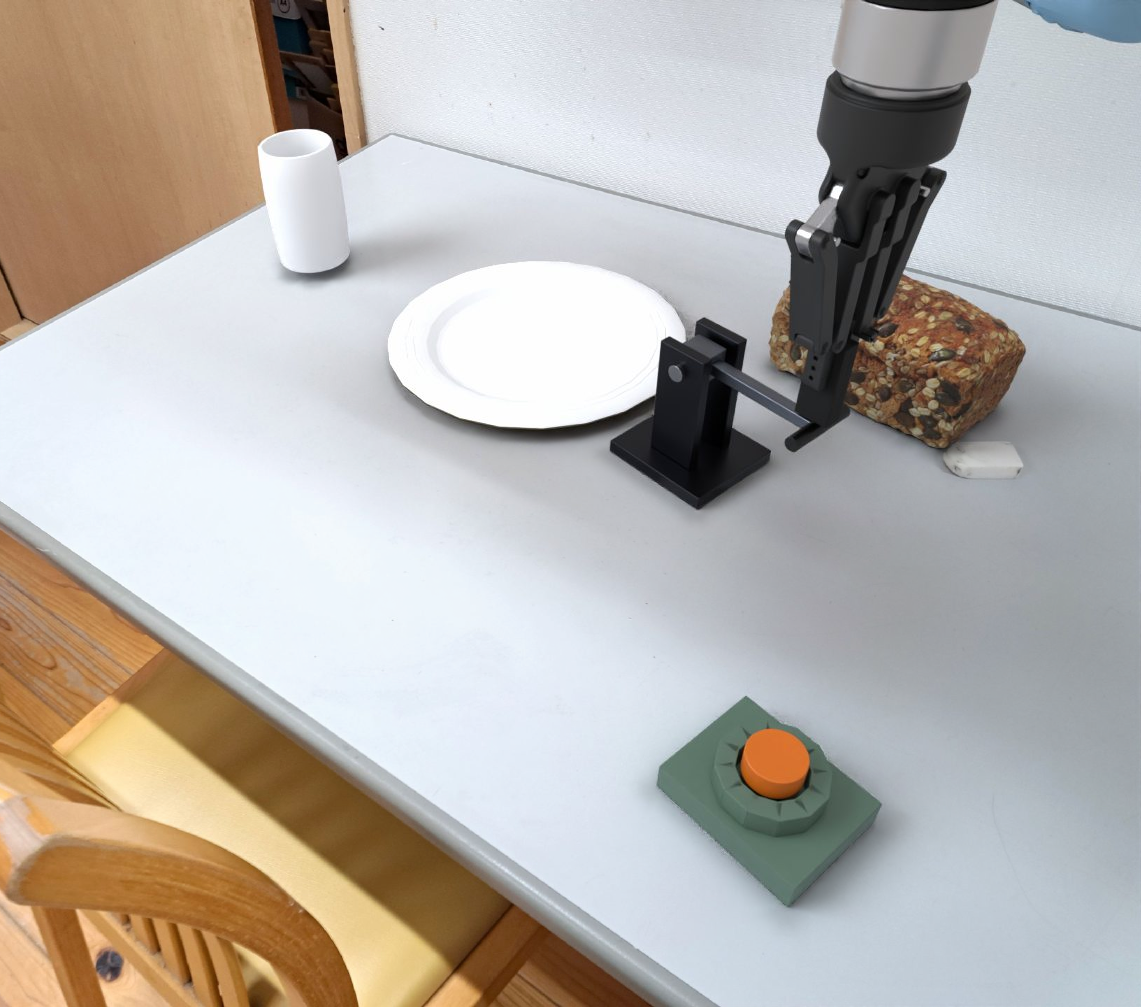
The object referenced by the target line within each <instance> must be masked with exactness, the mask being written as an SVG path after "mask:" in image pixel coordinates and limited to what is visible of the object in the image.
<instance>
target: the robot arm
mask: <svg viewBox="0 0 1141 1007" xmlns="http://www.w3.org/2000/svg"><path fill="white" fill-rule="evenodd" d="M999 2H1000V0H841V2H840V9H841V12H840V16H839V20H838V26H837V30H836V36H835V40H834V44H833V50H832V54H831V63H832V67H833V68H834V69H835V70H834V71H833V72H832V73H831V74H830V75H828V77H827V78H826V82H825V85H824V91H823V97H822V102H821V106H820V112H819V117H818V121H817V128H816V138H817V141H818V143H819V145H820V146H821V147H822V149H823V150H824V152H825V153H826V155H827V158H828V160H829V166H828V169H827V171H826V174H825V176H824V178H823V181H822V182H821V184H820V187H819V190H818V195H817V196H818V197H817V200H818V203H819V205H818V207H816V209H815V210H814V211H813V213H811V215H810V216H809V217H808V219H807V220H806V222H804V221H802V220H799V219H796V218H794V219H792V220H791V221H789V223H788V224H787V225H786V228H785V230H784V239H785V241H786V245H787V247H788V250H789V252H790V272H789V273H790V274H789V281H790V284H789V285H790V309H789V340H790V341H792V342H794V343H796V344H798V345H800V346H802V347H804V348H806V349H808V352H807V356H806V361H805V366H804V371H803V374H802V379H800V384H799V389H798V393H797V398H796V402H795V403H796V406H795V412H797V413H799V414H800V415H802V416H804V417H806V418H808V419H809V420H811V421H813V422H815V423H817V424H818V425H820V426H822V427H824V428H828V427H829V426H830V425H832V424H833V423H835V422H836V421H838V420H839V418H840V414H841V410H842V406H843V403H844V399H845V395H846V391H847V388H848V384H849V380H850V376H851V373H852V369H853V365H854V361H855V358H856V354H857V350H858V346H859V339H860V338H861V339H863V340H865V341H867V342H869V343H872V342H874V341H875V340H876V338H877V337H878V335H879V333H880V331H879V330H877V329H874V328H872V327H870V326H871V322H872V319H873V318H876V319H878V320H880V319H882V318H883V317H884V316H885V315H886V313H887V311H888V309H889V306H890V304H891V301H892V299H893V296H894V294H895V291H896V289H897V287H898V284H899V282H900V279H901V277H902V274H904V272H905V269H906V267H907V264H908V262H909V260H910V258H911V254H912V252H913V250H914V247H915V245H916V242H917V240H918V237H919V235H920V232H921V230H922V227H923V225H924V223H925V221H926V218H927V215H928V213H929V210H930V208H931V206H932V205H933V203H934V201H935V200H936V198H937V196H938V194H939V192H940V191H941V189H942V187H943V186H944V184H945V182H946V179H947V177H948V172H947V170H944V169H942V168H939V167H935V166H932V165H933V164H936V163H938V162H940V161H942V160H943V159H945V158H946V157H948V156H949V155H950V154H951V153H952V151H953V150H954V148H956V145H957V142H958V139H959V136H960V132H961V129H962V124H963V122H964V118H965V114H966V112H967V108H968V105H969V103H970V102H969V101H970V98H971V95H972V87H971V86H970V84H969V81H970V80H972V79H974V78H975V77H976V75H977V74H978V73H979V72H980V68H981V65H982V61H983V57H984V55H985V54H984V53H985V50H986V47H987V43H988V40H989V37H990V33H991V29H992V25H993V23H994V19H995V15H996V11H997V9H998V5H999ZM1012 2H1015V3H1016V4H1019V5H1021V6H1022V7H1025V8H1026V9H1028V10H1030V11H1031V12H1032V14H1034V15H1037V16H1040V18H1041V19H1042V20H1043V21H1045V22H1047V23H1048V24H1057V25H1058V26H1059V27H1060V28H1061V29H1063V30H1065V31H1069V32H1074V33H1079V34H1087V35H1090V36H1092V37H1095V38H1098V39H1102V40H1105V41H1108V42H1111V43H1112V42H1113V43H1119V44H1120V43H1121V44H1141V0H1012Z"/></svg>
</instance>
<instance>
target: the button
mask: <svg viewBox="0 0 1141 1007" xmlns="http://www.w3.org/2000/svg"><path fill="white" fill-rule="evenodd" d="M809 766H810V758H809V754H808V752H807V750H806V748H805V746H804V745H803V743H802V742H801V741H800V740H799V739H797V738H796V737H795V736H793V735H792V734H790V733H788V732H785V731H782V730H778V729H764V730H760V731H758V732H756V733H754V734H753V735H752V736H751V737H750V738H749V739H748V740H747V742H746V744H745V748H744V752H743V756H742V760H741V773H742V776H743V778H744V780H745V781H746V783H747V784H748V785H749V786H750V787H751V788H752V789H753V790H754V791H755V792H757V793H758V794H760V795H762V796H765V797H768V798H772V799H784V798H788V797H791V796H793V795H795V794H796V793H797V792H799V790H800V789H801V788H802V786H803V784H804V781H805V778H806V775H807V772H808V769H809Z"/></svg>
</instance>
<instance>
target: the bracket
mask: <svg viewBox="0 0 1141 1007" xmlns="http://www.w3.org/2000/svg"><path fill="white" fill-rule="evenodd" d="M698 334H701V335H703V336H704V337H706V338H708V339H710V340H711V341H713V342H715V343H717V344H719V345H720V346H722V347H724V348H726V354H725V359H724V362H726V363H728V364H729V365H731V366H733V367H735V368H736V369H738V370H740V371H741V372H743V367H744V362H745V355H746V349H747V343H748V338H746V337H744V336H742V335H740V334H739V333H736V332H734V331H733V330H730V329H728V328H727V327H725V326H723V325H720V324H719V323H717V322H715V321H713V320H711V319H709V318H707V317H705V316H703V317H701V318H700V319H698V320H696V321H695V327H694V335H693V337H694V336H696V335H698ZM711 365H712V359H711V358H709V357H707V356H705V355H703V354H701V353H700V352H698V351H696V350H694V349H692V348H690V347H689V346H687V345H685V344H683V343H681V342H679V341H678V340H676V339H674V338H672V337H670V336H668V337H667V338H665V339H663V340H661V344H660V355H659V365H658V376H657V386H656V395H655V396H654V397H655V398H654V407H653V408H654V409H653V415H651V416H649V417H647V418H645V419H644V420H642V421H641V422H638V423H637V424H636V425H634V426H632V427H631V428H629V429H627V430H626V431H624V432H622V433H620V434H619V435H617V436H615V437H613V438H612V439H610V440H609V451H610V452H611V453H612V454H614V455H616V456H617V457H618V458H619V459H621V460H623V461H624V462H626V463H627V464H629V466H632V467H633V468H634V469H636V470H637V471H639V472H640V473H642V474H643V475H645V476H646V477H648V478H649V479H651V480H652V481H654V482H655V483H657V484H658V485H660V486H661V487H663V489H664V488H665V489H666V490H667V491H669V492H670V493H671V494H673V495H675V496H676V497H677V498H679V499H681V500H682V501H684V502H685V503H686V504H688V505H689V506H690V507H692V508H694V509H695V510H699V509H700V508H702V507H704V506H705V505H706V504H708V503H709V502H711V501H713V500H714V499H716V498H717V497H718V496H720V495H722V494H723V493H724V492H726V491H727V490H728V489H730V488H732V487H733V486H735V485H736V484H738V483H739V482H741V481H742V480H743V479H745V478H747V477H749V476H750V475H751V474H753V473H754V472H756V471H757V470H759V469H760V468H762V467H763V466H764V465H766V464H768V463H769V462H770V460H771V456H772V450H771V449H770V448H768V447H766V446H765V445H763V444H761V443H759V442H758V441H756V440H754V439H753V438H751V437H750V436H747V435H746V434H744V433H742V432H741V431H739V430H737V429H736V428H734V427H733V426H734V420H735V415H736V414H735V413H736V408H737V401H738V396H739V392H738V391H737V390H735V389H733V388H732V387H730V386H728V385H726V384H725V383H723V382H721V381H720V380H718V379H716V378H714V379H712V380H710V381H709V379H710V372H711Z"/></svg>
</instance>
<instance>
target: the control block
mask: <svg viewBox="0 0 1141 1007" xmlns="http://www.w3.org/2000/svg"><path fill="white" fill-rule="evenodd" d="M764 729H778V730H782V731H785V732H788V733H790V734H792V735H793V736H795V737H796V738H797V739H799V740H800V741H801V742H802V743H803V745H804V746H805V748H806V750H807V752H808V754H809V758H810V766H809V769H808V772H807V775H806V778H805V781H804V784H803V786H802V788H801V789H800V790H799V792H797V793H796V794H795V795H793V796H791V797H788V798H784V799H772V798H768V797H765V796H762V795H760V794H758V793H757V792H755V791H754V790H753V789H752V788H751V787H750V786H749V785H748V784H747V783H746V781H745V780H744V778H743V776H742V773H741V760H742V756H743V752H744V748H745V744H746V742H747V740H748V739H749V738H750V737H751V736H752V735H753V734H754V733H756V732H758V731H760V730H764ZM656 786H657V787H658V788H659V789H660V790H661V791H662V792H663V793H664V794H665V795H666V796H668V797H669V798H670V799H671V800H672V801H673V802H674V803H675V804H676V805H677V806H678V807H679V808H681V810H682V811H683V812H685V813H686V815H688V816H689V817H690V818H691V819H692V820H693V821H694V822H695V823H697V824H698V825H699V827H701V829H703V830H704V831H705V832H706V833H707V834H708V835H709V836H710V837H711V838H713V839H714V841H715V842H717V843H718V844H719V845H720V846H721V847H722V848H723V849H724V850H725V851H727V853H728V854H730V855H731V856H732V857H733V858H734V859H735V860H736V861H737V862H738V863H740V865H741V866H743V868H745V869H746V871H748V872H749V873H750V874H751V875H752V876H753V877H754V878H755V879H757V880H758V882H760V884H761V885H763V886H764V887H765V888H766V889H767V890H769V891H770V893H771V894H773V895H774V897H776V898H777V899H778V900H779V901H780V902H781V903H782V904H783V905H784V906H786V907H787V908H789V907H790V906H791V905H792V904H793V903H794V902H795V901H796V900H798V898H799V897H800V896H801V895H802V894H804V892H805V891H807V889H808V888H809V887H810V886H812V884H813V883H814V882H815V881H816V880H818V879H819V877H821V875H822V874H823V873H824V872H826V870H827V869H828V868H829V867H830V866H831V865H832V864H834V863H835V862H836V860H838V859H839V858H840V857H841V855H843V854H844V853H845V852H846V851H847V850H848V849H849V848H850V847H851V846H852V845H853V844H854V843H855V842H856V841H857V840H858V839H859V838H860V837H861V836H862V835H863V834H864V833H865V832H866V831H867V830H868V829H869V828H870V827H871V826H872V825H873V824H875V821H876V819H877V816H878V814H879V812H880V810H881V808H882V805H883V803H882V802H881V801H880V800H879V799H877V797H875V796H873V795H872V794H871V793H870V792H869V791H867V790H866V789H864V788H863V787H862V786H861V785H860V784H859V783H857V782H855V780H853V779H852V778H851V777H849V776H848V775H847V774H846V773H845V772H843V771H842V770H841V769H839V767H837V766H836V765H834V764H833V763H832V762H830V761H829V760H828V759H827V757H826V755H825V753H824V751H823V749H822V747H821V746H820V744H818V743H817V742H815V740H813V739H812V738H810V737H809V735H806V734H805V733H804V732H803V731H801V730H800V729H799V728H797V727H795V726H793V725H789V724H785V723H782V722H780V721H779V720H778V719H776V717H774V716H773V715H771V714H770V713H769V712H767V710H766V709H764V708H763V707H762V706H760V705H759V704H758V703H756V702H755V701H754V700H753V699H752V698H750V697H749V696H748V695H745V696H743V697H742V698H741V699H739V700H738V701H737V702H736V703H735V704H734V705H733V706H731V707H730V708H729V709H728V710H726V711H725V712H724V713H722V714H721V715H720V716H718V718H716V719H715V720H714V721H713V722H711V724H709V725H708V726H707V727H706V728H704V729H703V730H702V731H700V732H699V733H698V734H697V735H696V736H694V737H693V738H692V739H691V740H689V741H688V742H687V743H686V744H684V745H683V746H682V747H681V748H680V749H679V750H677V751H676V752H675V753H674V754H672V755H671V756H670V757H668V758H667V759H666V760H665V761H663V763H662V764H660V765H659V767H658V773H657V779H656Z"/></svg>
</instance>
